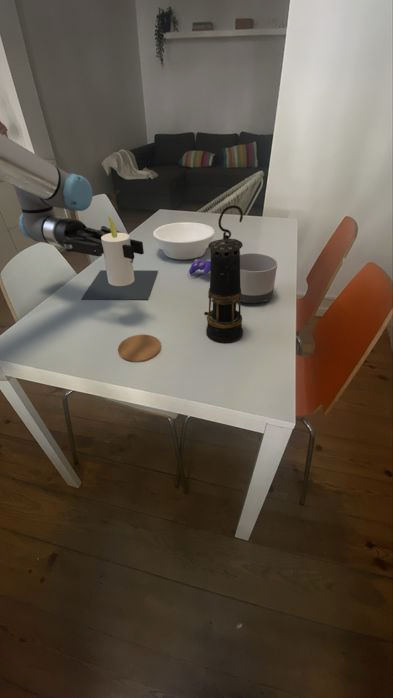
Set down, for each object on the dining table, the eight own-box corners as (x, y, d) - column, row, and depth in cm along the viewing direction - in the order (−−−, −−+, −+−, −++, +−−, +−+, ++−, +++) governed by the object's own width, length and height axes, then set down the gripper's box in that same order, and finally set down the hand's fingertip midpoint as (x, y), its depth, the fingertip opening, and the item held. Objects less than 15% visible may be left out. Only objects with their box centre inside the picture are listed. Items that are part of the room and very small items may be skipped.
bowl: (164, 241, 131) (163, 220, 126) (218, 244, 128) (219, 223, 122) (147, 263, 114) (144, 240, 109) (209, 267, 110) (209, 243, 105)
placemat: (81, 299, 94) (80, 298, 94) (100, 271, 110) (100, 270, 109) (148, 300, 93) (147, 299, 93) (158, 271, 109) (157, 270, 108)
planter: (274, 288, 97) (279, 255, 90) (269, 309, 87) (274, 274, 81) (233, 283, 100) (235, 251, 94) (223, 303, 90) (225, 268, 84)
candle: (131, 287, 75) (123, 220, 66) (104, 285, 75) (92, 219, 66) (138, 275, 80) (131, 212, 71) (113, 274, 80) (103, 211, 71)
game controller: (178, 266, 102) (197, 251, 106) (188, 288, 106) (206, 273, 111) (199, 266, 95) (219, 249, 99) (208, 289, 99) (227, 272, 104)
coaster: (113, 361, 71) (113, 360, 71) (123, 335, 79) (123, 334, 79) (157, 362, 70) (157, 361, 70) (163, 336, 78) (163, 334, 78)
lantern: (202, 325, 82) (200, 200, 63) (235, 320, 83) (244, 196, 65) (211, 346, 75) (212, 212, 56) (248, 340, 76) (261, 208, 58)
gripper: (93, 239, 88) (160, 255, 78) (45, 258, 78) (115, 279, 68) (87, 210, 84) (157, 223, 74) (35, 226, 73) (109, 244, 63)
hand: (137, 250), depth 71 cm, fingers closed on candle, 2 cm apart
